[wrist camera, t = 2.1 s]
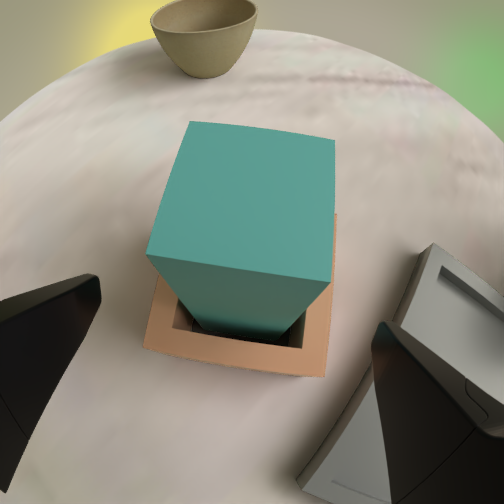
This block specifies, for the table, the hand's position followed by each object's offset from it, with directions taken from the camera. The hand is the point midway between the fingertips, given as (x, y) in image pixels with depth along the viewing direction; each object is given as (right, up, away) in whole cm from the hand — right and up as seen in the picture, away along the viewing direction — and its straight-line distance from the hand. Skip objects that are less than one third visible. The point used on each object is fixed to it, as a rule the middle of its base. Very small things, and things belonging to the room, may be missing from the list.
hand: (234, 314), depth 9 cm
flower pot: (-4, +21, +20) cm, 29 cm away
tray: (+15, -9, +8) cm, 19 cm away
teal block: (0, -1, +10) cm, 10 cm away
